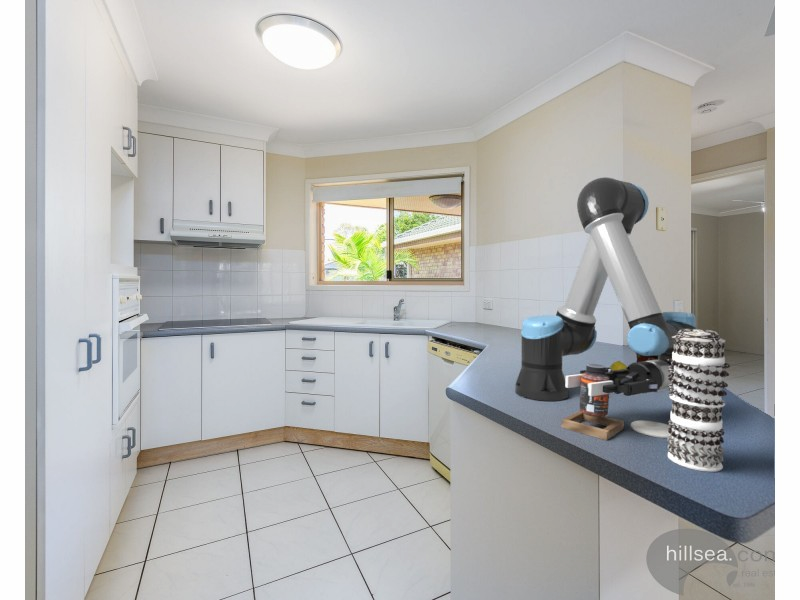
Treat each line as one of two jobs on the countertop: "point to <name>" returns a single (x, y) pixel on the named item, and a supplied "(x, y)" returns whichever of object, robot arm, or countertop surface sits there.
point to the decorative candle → (697, 400)
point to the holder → (605, 433)
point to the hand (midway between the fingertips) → (578, 385)
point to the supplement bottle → (593, 404)
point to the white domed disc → (651, 428)
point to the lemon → (618, 366)
